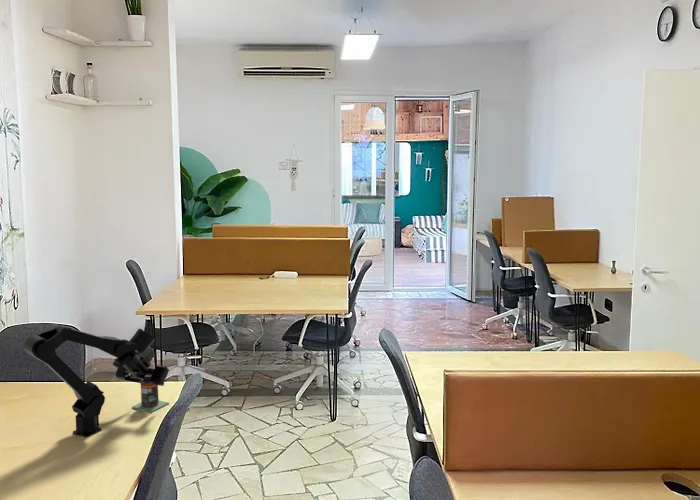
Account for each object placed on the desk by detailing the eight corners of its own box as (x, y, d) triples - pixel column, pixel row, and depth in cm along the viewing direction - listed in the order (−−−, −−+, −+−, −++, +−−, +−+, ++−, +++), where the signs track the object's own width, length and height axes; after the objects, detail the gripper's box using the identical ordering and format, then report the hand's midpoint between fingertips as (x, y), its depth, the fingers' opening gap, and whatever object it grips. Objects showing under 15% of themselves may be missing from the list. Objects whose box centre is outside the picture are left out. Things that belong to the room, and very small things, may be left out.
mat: (151, 412, 224) (151, 411, 224) (132, 408, 227) (131, 406, 227) (168, 404, 232) (168, 402, 232) (149, 399, 236) (149, 398, 235)
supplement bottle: (152, 400, 233) (151, 370, 232) (162, 404, 230) (161, 374, 228) (137, 405, 229) (136, 374, 227) (147, 409, 225) (146, 378, 224)
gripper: (165, 344, 220) (183, 366, 232) (119, 339, 225) (139, 360, 237) (152, 373, 213) (171, 394, 225) (105, 368, 219) (126, 388, 231)
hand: (152, 383), depth 230 cm, fingers open, 9 cm apart
